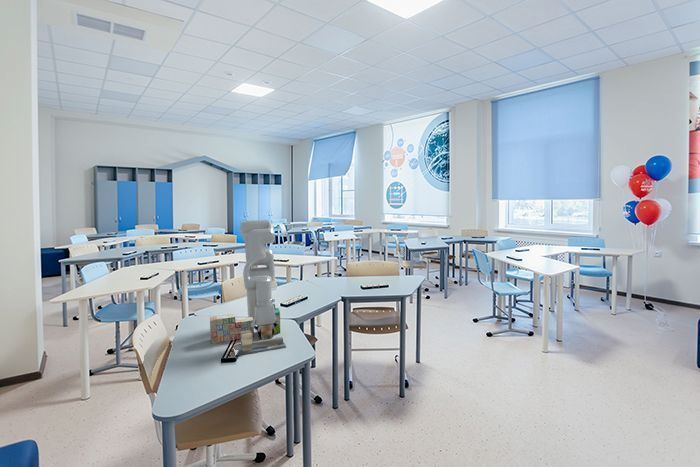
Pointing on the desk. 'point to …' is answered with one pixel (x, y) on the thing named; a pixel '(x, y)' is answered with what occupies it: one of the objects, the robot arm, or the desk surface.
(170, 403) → the desk surface
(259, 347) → the rail fixture
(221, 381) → the desk surface
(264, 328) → the block
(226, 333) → the stack of blocks
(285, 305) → the desk surface
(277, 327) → the chalk box
